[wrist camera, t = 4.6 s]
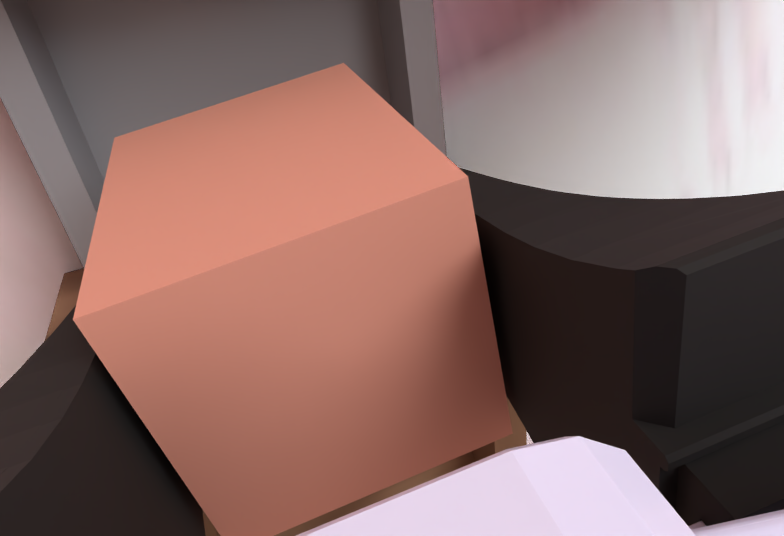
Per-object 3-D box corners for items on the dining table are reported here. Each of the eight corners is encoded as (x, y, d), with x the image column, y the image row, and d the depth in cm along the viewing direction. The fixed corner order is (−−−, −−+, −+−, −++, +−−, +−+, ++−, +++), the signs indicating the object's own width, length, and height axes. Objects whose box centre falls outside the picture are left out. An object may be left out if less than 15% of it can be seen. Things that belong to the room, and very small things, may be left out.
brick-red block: (394, 251, 14) (512, 433, 9) (209, 321, 14) (232, 553, 9) (343, 63, 12) (467, 176, 7) (114, 137, 11) (72, 320, 6)
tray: (434, -273, 14) (540, -342, 10) (471, 245, 22) (540, 325, 18) (-193, -199, 12) (-384, -251, 8) (96, 352, 20) (77, 471, 16)
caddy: (459, 171, 21) (523, 230, 17) (479, 424, 27) (527, 506, 24) (64, 273, 18) (37, 368, 15) (192, 522, 25) (195, 630, 21)
